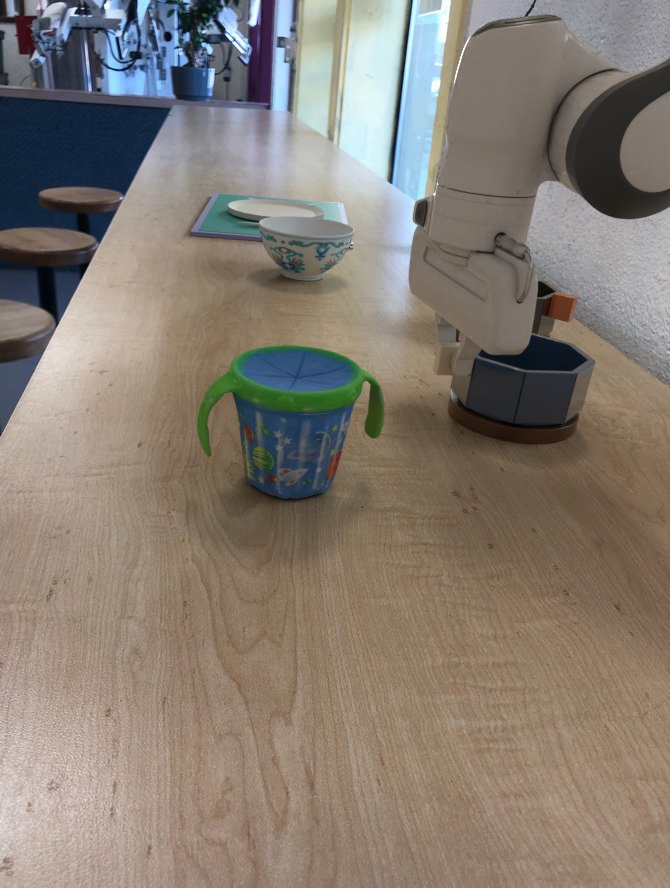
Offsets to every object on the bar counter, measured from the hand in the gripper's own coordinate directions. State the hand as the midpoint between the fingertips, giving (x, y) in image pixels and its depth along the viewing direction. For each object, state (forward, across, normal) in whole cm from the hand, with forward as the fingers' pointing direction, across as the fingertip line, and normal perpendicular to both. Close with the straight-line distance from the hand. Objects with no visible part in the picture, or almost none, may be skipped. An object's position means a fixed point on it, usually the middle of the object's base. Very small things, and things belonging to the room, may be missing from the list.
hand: (451, 366), depth 78 cm
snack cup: (+6, -12, +19) cm, 23 cm away
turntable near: (+5, -1, -8) cm, 9 cm away
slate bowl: (+4, 0, -6) cm, 7 cm away
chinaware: (+6, +56, +1) cm, 56 cm away
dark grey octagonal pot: (+4, +23, -19) cm, 30 cm away
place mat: (+6, +101, -5) cm, 101 cm away
